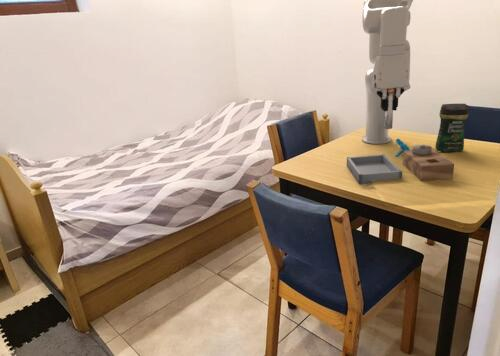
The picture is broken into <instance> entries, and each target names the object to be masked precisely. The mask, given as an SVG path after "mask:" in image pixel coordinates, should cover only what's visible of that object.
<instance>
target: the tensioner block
mask: <svg viewBox="0 0 500 356" xmlns="http://www.w3.org/2000/svg"><path fill="white" fill-rule="evenodd" d="M402 165H403V166H404V167H405V168H406V169H407V171H409V172H410V173H411V174H413V175H414V177H416V178H417V179H418V180H419V181H420V182H427V181H440V180H441V181H442V180H452V179H453V177H454V170H455V163H454V162H452V161H451V160H449V159H448V158H447V157H445V156H443V155H442V154H440V152H438V151H437V150H434V149H433V148H432V146H430V145H427V144H417V145H416V144H415V145H413V146H412V149H410V151H403V153H402Z"/></svg>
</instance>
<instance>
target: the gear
mask: <svg viewBox="0 0 500 356" xmlns="http://www.w3.org/2000/svg"><path fill="white" fill-rule="evenodd" d="M395 142H396V144H397V145H398V146H399V148H400V150H399V151H398V152H397V153H396V154H395V155H394V158H399V157H400V156H401V155H403V151H410V150H411V149H410V147H409V146H408V145H407V143H404V142H403V141H402V140H401V139H400V138H396V139H395Z"/></svg>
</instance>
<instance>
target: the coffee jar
mask: <svg viewBox="0 0 500 356" xmlns="http://www.w3.org/2000/svg"><path fill="white" fill-rule="evenodd" d="M468 118H469V105H468V104H467V103H442V104H441V107H440V110H439V119H440V124H439V129H438V134H437V138H436V141H435V148H434V149H435V151H436V152H438V153H443V154H444V153H446V154H449V153H450V154H451V153H462V152H463V151H464V148H465V147H464V146H465V127H466V126H465V124H466V121H467V119H468Z"/></svg>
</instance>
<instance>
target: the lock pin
mask: <svg viewBox="0 0 500 356" xmlns="http://www.w3.org/2000/svg"><path fill="white" fill-rule="evenodd" d="M394 92H395V88H394V89H387V94H386V99H388V104H387V111H385V129H388V130H391V129H393V121H394V110H393V104H394Z"/></svg>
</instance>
